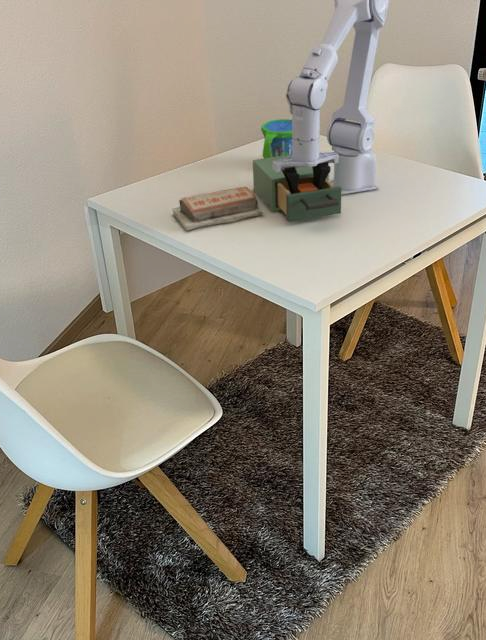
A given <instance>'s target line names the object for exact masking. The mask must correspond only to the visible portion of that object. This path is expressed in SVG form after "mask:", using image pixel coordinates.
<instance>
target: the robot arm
mask: <svg viewBox="0 0 486 640" xmlns="http://www.w3.org/2000/svg"><path fill="white" fill-rule="evenodd" d="M333 2H334V12H333V14H332V17H331V20H330V22H329V25H328V26H327V29H326V32H325V34H324V37H323V39H322V41H321V43H320V44H316V45H314V46H313V48H312V50H311V51H310V54H309V55H308V57H307V59H306V62H305V63H304V65H303V67H302V69H301V70H300V71H301V72H300V73H299V75H298V76H295V78H293V79H291V80H290V81H289V82H288V85H287V89H286V93H285V98H286V102H287V104H288V108H289V114H290V115H291V120H292V146H293V155H292V156H289V157H286V158H283V159H279V160H275V161H273V170H274V171H275V172H280V171H281V170H282V172H283V174H284V176H285V178H286V180H287V183H288V186H289V189H290V193H291V194H295V193H298V181H299V176H300V175H299V174H298V173H297V170H296V169H295V168H301V167H307V166H308V167H312V168H313V178H314V183H313V185H314V186H315V187H316V188H318V190H320V189H322V187H323V184H324V182H325V180H326V178H327V176H328V174H329V175H330V173H331V167H332V166H330V165H329V164H333V180H330V181H329V182H331V183H332V184H333V185H334V187H339V186H340V187H341V188H342V191H341V196H342V195H347V194H348V195H349V194H354V193H361V192H367V191H372V190H376V189H377V187H376V186H375V185H376V171H377V159H376V154H375V151H374V150H373V148H372V147H373V144H374V141H375V120H376V119H374V117H373V115H371V113H370V112H369V111H368V109H367V103H368V98H369V92H370V87H371V81H372V76H373V70H374V64H375V60H376V59H375V58H376V54H377V47H378V41H379V37H380V30H381V29H382V28H384V26H385V25H386V19H387V14H388V8H389V3H390V0H334V1H333ZM352 27H353V29H354V31H355V33H354V39H353V46H352V51H351V57H350V62H349V70H348V74H347V80H346V81H347V82H346V86H345V92H344V99H343V105H342V106H341V107H339V108H338V109H337V110H336V111H334V112H333V113H332V116H331V119H330V122H329V124H328V127H327V131H326V140H327V143H328V145H329V146H331V151H329V152H327V151H326V152H320V125H321V124H320V123H321V122H320V121H321V120H320V119H321V117H320V115H321V112H320V111H321V109H320V108H321V107H323V105H324V104H325V102H326V97H327V90H328V88H329V83H328V81H329V80H330V77H331V75H332V74H333V72H334V70H335V67H336V66H337V63H338V62H339V56H338V53H337V52H338V50H339V49H340V47H341V45H342V44H343V42H344V41H345V39H346V37H347V36H348V34H349V32H350V31H351V30H352ZM349 120H351V121H349Z"/></svg>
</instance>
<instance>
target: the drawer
mask: <svg viewBox="0 0 486 640" xmlns="http://www.w3.org/2000/svg"><path fill="white" fill-rule="evenodd" d="M305 183H312V184H313V183H314V178H313V177H307V178H301V179H299V181H298V184H305ZM275 191H276V204H277V205H278V206H279V208H280V209H281V211H282V212H283V213H284V214H285V215H286V217H285V218H286V221H287V222H288V223H289V222H296V221H302V220H309V219H314V218H320V217H327V216H332V215H337V214H341V212H342V195H341V191H342V188H341V187H340V186H339V187H334V185H333V184H332V183H331V182H329V181H328V180H327V179H326V180H325V182H324V184H323V187H322V189H320V190H314V191H307V192H301V193H295V194H291V193H290V189H289V186H288V183H287V181H281V182H275Z"/></svg>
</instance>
